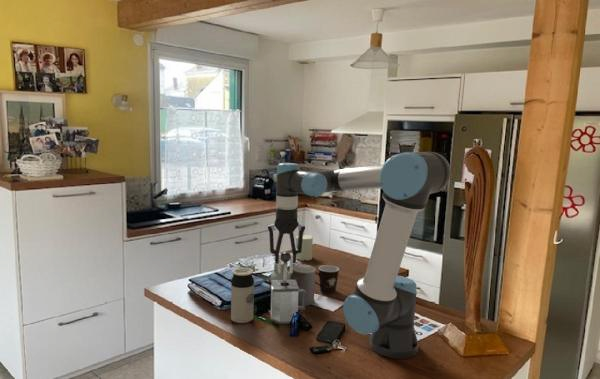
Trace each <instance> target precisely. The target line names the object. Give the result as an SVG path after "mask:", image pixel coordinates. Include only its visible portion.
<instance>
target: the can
mask: <svg viewBox="0 0 600 379" xmlns="http://www.w3.org/2000/svg"><path fill="white" fill-rule="evenodd" d="M298 235H299V234H298ZM298 235H296V236H295V248H296V249H297V246H298ZM313 240H314V237H313V236H312V235H310V234H309V235H308V234H303V240H302V251H301V253H298V254H297V255H296V260H297V259H300V260H299V261H303V262H304V260H306V261H311V260H312V259H313V244H314V243H313Z"/></svg>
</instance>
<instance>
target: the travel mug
mask: <svg viewBox="0 0 600 379" xmlns="http://www.w3.org/2000/svg"><path fill="white" fill-rule="evenodd" d="M253 273H254V270H253V269H252V268H250V267H237V268H233V269H232V271H231V274H232V278H231V279H230V280H231V281H230V285H231V287H230V291H231V292H230V293H231V294H230V295H231V296H230V299H231V300H230V301H231V302H230V306H231V307H230V319H231V321H232V322H234V323H236V324H247V323H249V322H251V321H253V319H254V306H255V305H254V302H255V298H254V297H255V294H254V293H255V279H254V276H253Z"/></svg>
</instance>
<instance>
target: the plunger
mask: <svg viewBox="0 0 600 379" xmlns="http://www.w3.org/2000/svg"><path fill="white" fill-rule="evenodd" d="M280 254H281V261H283V262H284V271H283V286H286V285H287V271H288V268H287V263H288V262H290V258H291V256H290V253H289V252H287V251H285V252H281V253H280Z"/></svg>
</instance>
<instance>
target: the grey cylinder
mask: <svg viewBox="0 0 600 379" xmlns="http://www.w3.org/2000/svg"><path fill="white" fill-rule="evenodd" d="M315 272H316V267H314V266H312V265H310V264H295V265H293V273H290V280H296V282H297V285H298V287H299V289H304V290H305V291H306V305H305V307H307V306H311V305H313V304H314V303H315V302H314V301H315V286H316V285H315V284H316V283H315V282H316V274H315ZM302 305H303V293H298V306H302Z"/></svg>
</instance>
